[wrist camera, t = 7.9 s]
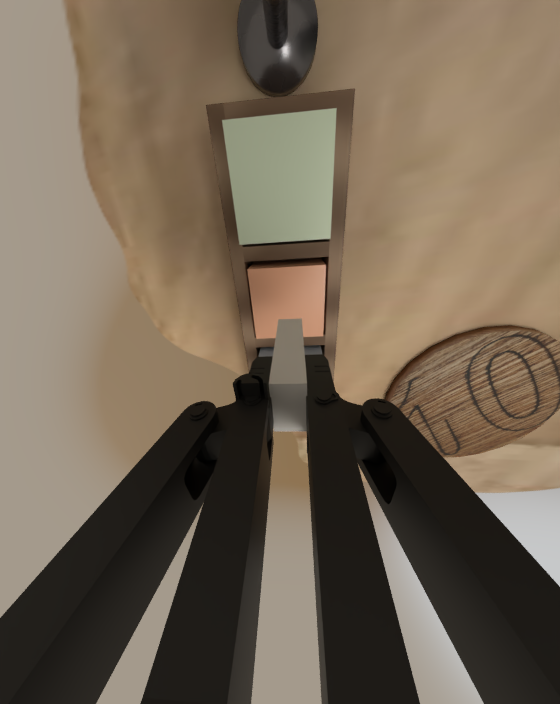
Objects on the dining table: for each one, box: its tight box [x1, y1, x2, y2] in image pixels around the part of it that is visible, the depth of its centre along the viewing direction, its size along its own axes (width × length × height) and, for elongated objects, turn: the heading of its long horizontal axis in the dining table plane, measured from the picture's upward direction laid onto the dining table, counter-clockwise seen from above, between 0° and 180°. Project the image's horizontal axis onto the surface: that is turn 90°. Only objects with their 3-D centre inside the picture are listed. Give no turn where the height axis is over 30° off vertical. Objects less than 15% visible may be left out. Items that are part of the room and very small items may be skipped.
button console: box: [206, 89, 355, 381], centre depth 25 cm, size 28×10×6 cm, turn 4°
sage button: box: [222, 108, 337, 245], centre depth 17 cm, size 7×7×4 cm
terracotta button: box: [247, 258, 326, 339], centre depth 23 cm, size 7×7×4 cm
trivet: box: [385, 325, 560, 457], centre depth 34 cm, size 25×25×2 cm
